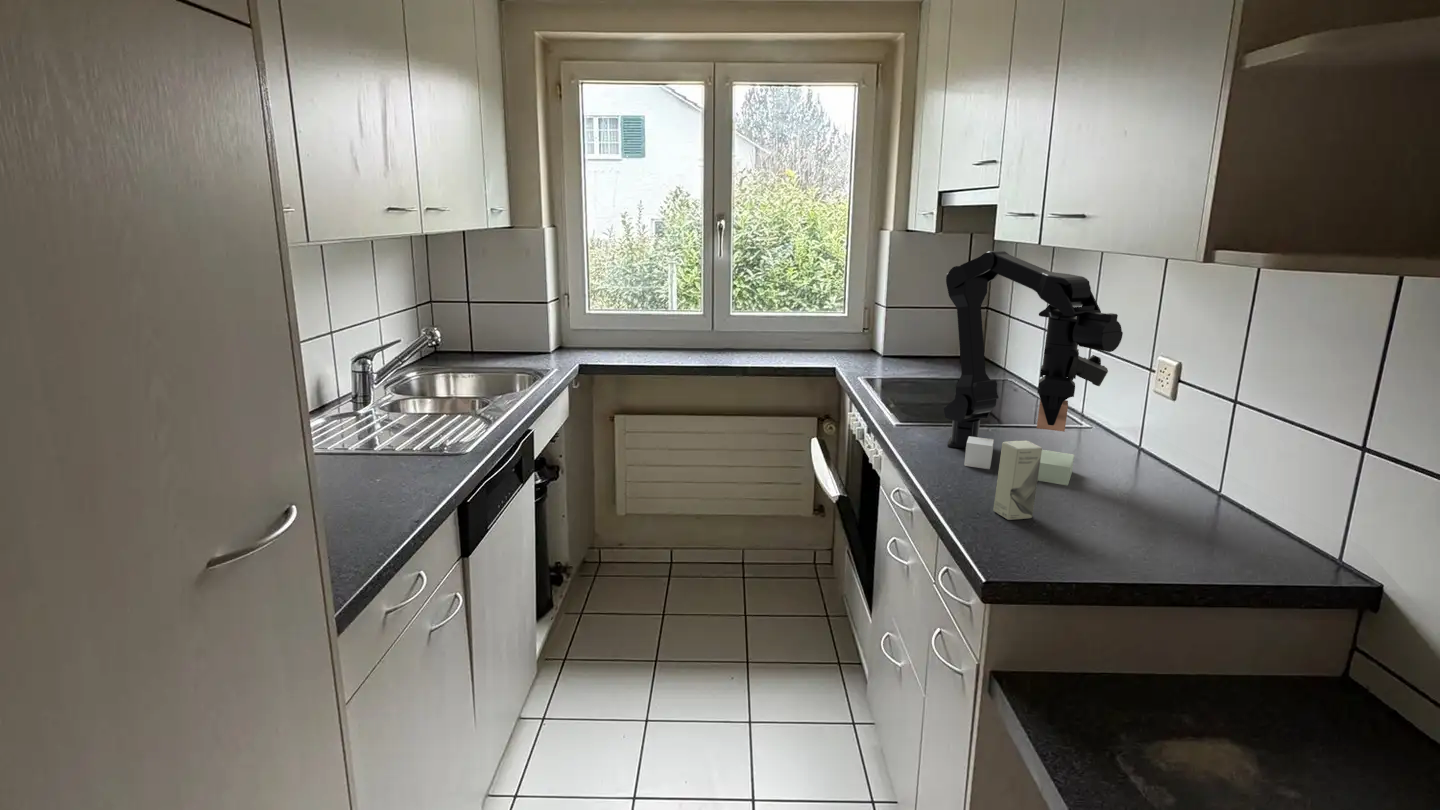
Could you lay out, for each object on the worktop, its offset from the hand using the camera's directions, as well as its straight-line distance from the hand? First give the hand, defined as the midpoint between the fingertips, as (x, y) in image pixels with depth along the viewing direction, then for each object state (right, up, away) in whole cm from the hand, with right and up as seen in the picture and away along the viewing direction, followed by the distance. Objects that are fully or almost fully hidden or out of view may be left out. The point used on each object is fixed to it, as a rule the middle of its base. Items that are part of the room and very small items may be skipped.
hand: (1051, 421), depth 151 cm
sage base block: (0, -11, +3) cm, 11 cm away
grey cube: (-11, -9, +9) cm, 17 cm away
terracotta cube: (0, -1, 0) cm, 1 cm away
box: (-14, -16, -18) cm, 28 cm away
